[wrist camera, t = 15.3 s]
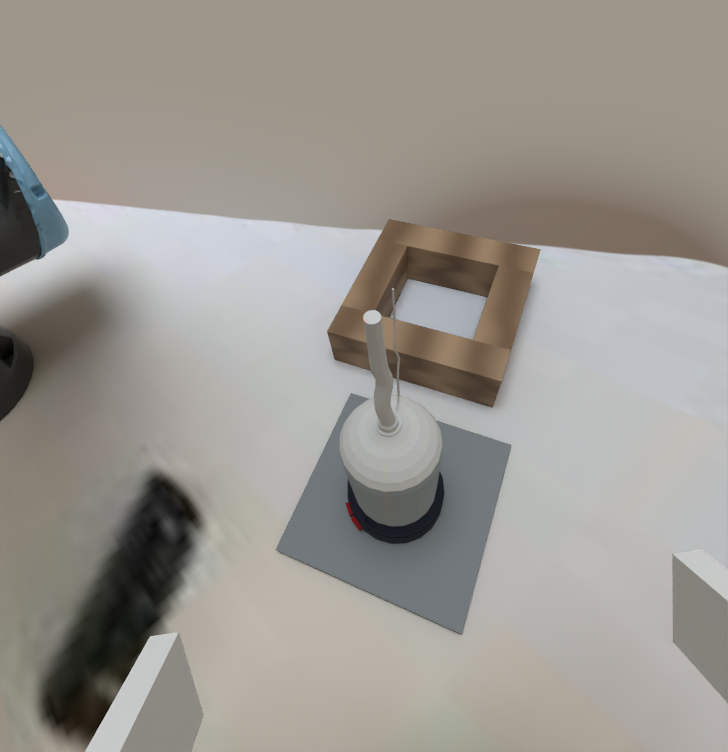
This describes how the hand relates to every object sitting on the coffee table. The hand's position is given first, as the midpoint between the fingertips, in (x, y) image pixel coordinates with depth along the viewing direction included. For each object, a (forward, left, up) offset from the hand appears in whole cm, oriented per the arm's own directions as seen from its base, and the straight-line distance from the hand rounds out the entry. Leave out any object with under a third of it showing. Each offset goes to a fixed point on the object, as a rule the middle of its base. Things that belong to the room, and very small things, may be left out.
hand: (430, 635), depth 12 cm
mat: (-5, +10, -25) cm, 27 cm away
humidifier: (-5, +9, -25) cm, 27 cm away
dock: (-8, +30, -25) cm, 40 cm away
